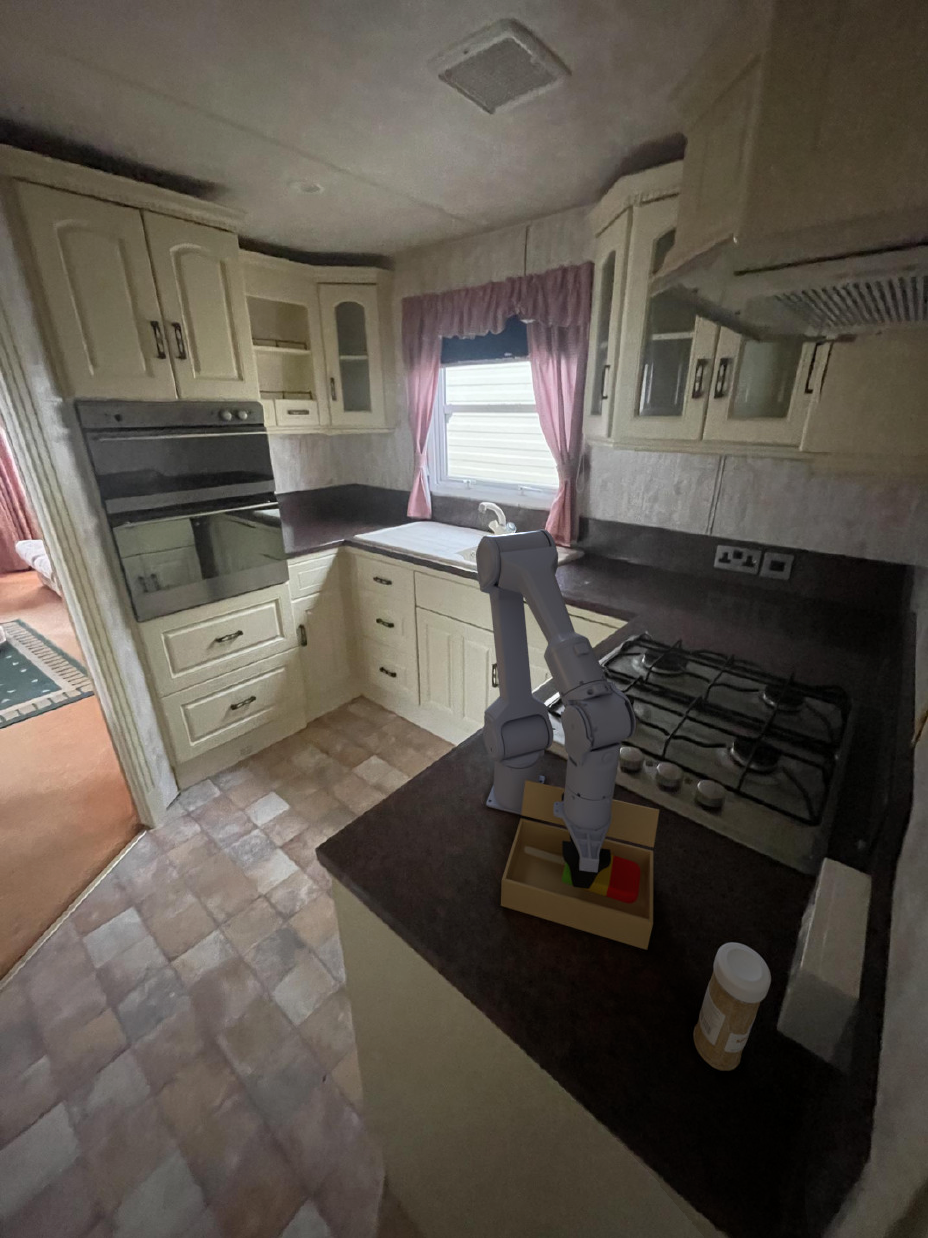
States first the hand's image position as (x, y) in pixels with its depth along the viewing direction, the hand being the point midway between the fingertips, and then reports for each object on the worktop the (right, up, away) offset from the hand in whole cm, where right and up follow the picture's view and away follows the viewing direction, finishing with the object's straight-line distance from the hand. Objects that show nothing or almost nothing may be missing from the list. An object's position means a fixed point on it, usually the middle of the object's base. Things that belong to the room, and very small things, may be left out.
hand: (579, 863), depth 67 cm
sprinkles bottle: (+11, -12, -14) cm, 22 cm away
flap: (+2, +5, +4) cm, 7 cm away
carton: (0, -5, +2) cm, 5 cm away
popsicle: (0, -1, +1) cm, 2 cm away
